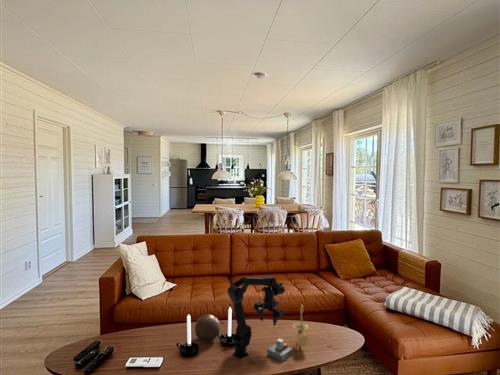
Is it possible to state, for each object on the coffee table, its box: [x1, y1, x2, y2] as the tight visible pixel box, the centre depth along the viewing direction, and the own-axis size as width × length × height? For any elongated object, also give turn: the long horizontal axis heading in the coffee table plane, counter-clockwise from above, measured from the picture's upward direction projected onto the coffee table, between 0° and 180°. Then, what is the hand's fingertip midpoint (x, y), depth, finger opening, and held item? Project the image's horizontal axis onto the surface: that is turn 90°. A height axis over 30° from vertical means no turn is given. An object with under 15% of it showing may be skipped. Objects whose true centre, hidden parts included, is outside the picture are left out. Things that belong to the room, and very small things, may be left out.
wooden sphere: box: [194, 314, 221, 343], centre depth 186 cm, size 15×15×15 cm
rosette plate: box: [266, 342, 293, 362], centre depth 173 cm, size 10×10×4 cm
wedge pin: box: [275, 338, 285, 352], centre depth 173 cm, size 3×3×8 cm
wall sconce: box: [292, 304, 309, 347], centre depth 182 cm, size 14×10×25 cm
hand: (268, 323), depth 184 cm, fingers open, 9 cm apart
